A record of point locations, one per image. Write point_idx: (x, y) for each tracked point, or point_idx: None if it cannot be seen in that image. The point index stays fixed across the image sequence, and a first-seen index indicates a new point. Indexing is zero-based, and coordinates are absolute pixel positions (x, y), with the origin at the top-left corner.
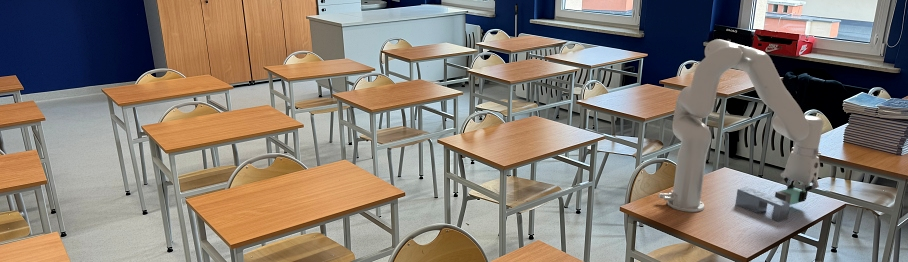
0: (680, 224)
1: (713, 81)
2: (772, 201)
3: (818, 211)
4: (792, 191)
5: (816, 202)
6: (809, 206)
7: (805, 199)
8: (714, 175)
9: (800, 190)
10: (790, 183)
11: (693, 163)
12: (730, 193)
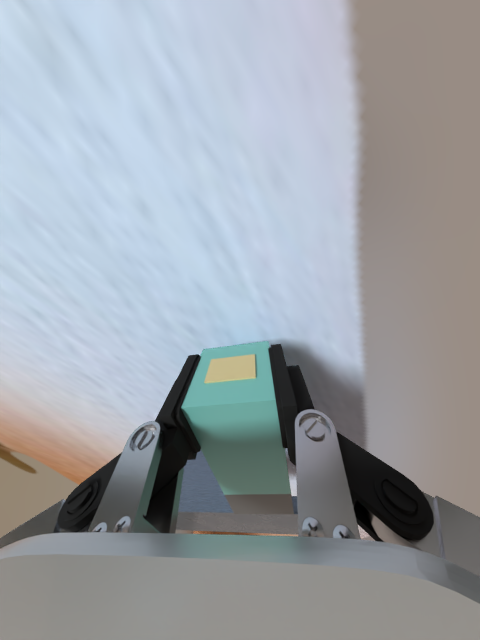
0: (242, 532)
1: None
2: (294, 532)
3: (332, 264)
4: (252, 465)
5: (215, 116)
6: (258, 251)
7: (298, 368)
8: None
9: (253, 418)
10: (178, 495)
11: None
12: (90, 422)
